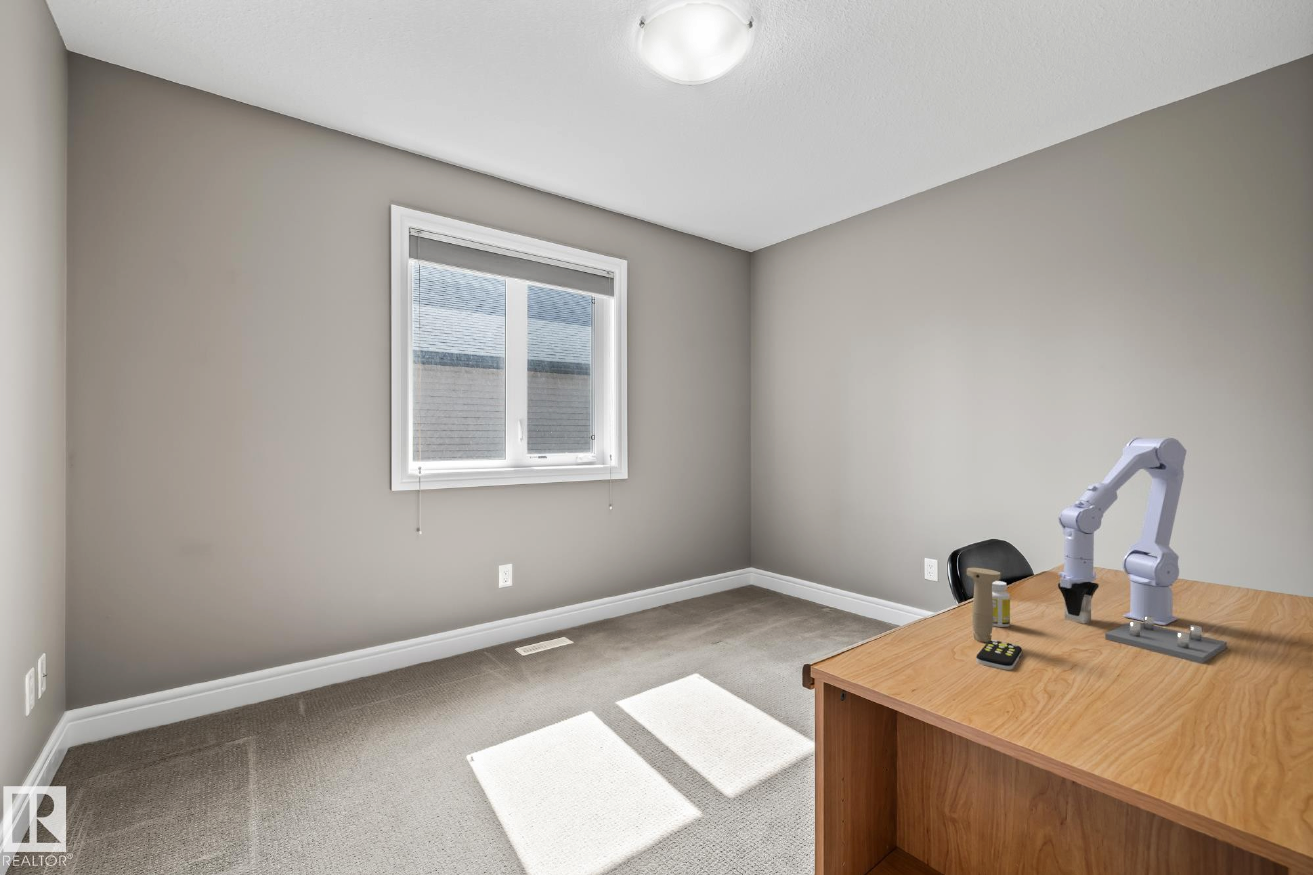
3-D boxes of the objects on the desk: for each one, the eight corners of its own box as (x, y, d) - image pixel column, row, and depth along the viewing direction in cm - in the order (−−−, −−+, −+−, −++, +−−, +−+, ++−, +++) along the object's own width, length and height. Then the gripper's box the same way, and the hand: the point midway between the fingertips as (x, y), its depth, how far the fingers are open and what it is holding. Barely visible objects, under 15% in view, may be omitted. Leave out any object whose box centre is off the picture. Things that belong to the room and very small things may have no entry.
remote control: (974, 664, 114) (974, 654, 114) (988, 646, 123) (989, 637, 123) (1011, 673, 110) (1011, 663, 110) (1023, 654, 119) (1023, 644, 119)
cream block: (1071, 616, 143) (1072, 592, 143) (1091, 620, 140) (1091, 596, 140) (1064, 619, 141) (1065, 594, 141) (1083, 623, 138) (1084, 598, 138)
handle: (973, 633, 130) (973, 566, 130) (1003, 642, 125) (1004, 572, 125) (961, 637, 127) (962, 569, 127) (992, 646, 122) (993, 575, 122)
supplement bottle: (1006, 621, 139) (1007, 580, 139) (1012, 628, 134) (1013, 586, 134) (981, 619, 141) (981, 578, 140) (985, 626, 135) (986, 584, 135)
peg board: (1133, 626, 136) (1133, 609, 136) (1226, 647, 123) (1227, 628, 123) (1105, 638, 128) (1105, 620, 128) (1202, 663, 114) (1202, 643, 114)
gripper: (1073, 551, 148) (1072, 604, 148) (1046, 557, 140) (1045, 613, 140) (1106, 556, 142) (1105, 611, 142) (1080, 562, 134) (1079, 621, 134)
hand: (1077, 613), depth 141 cm, fingers closed on cream block, 4 cm apart
